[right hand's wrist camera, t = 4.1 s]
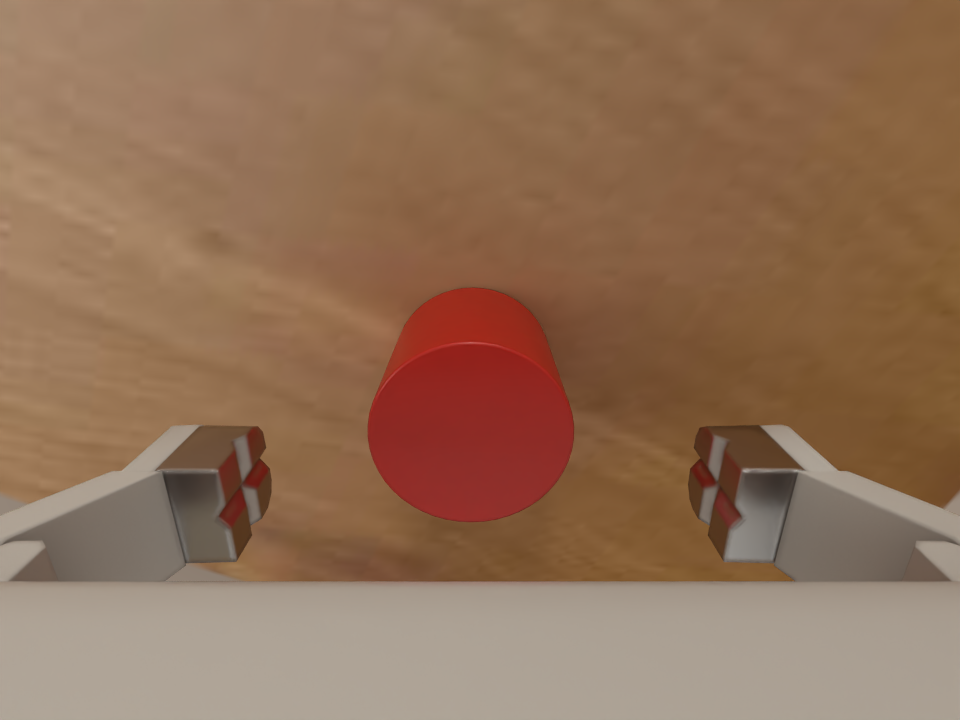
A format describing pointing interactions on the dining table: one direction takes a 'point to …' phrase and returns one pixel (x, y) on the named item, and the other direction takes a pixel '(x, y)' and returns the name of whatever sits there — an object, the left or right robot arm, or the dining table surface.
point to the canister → (471, 409)
